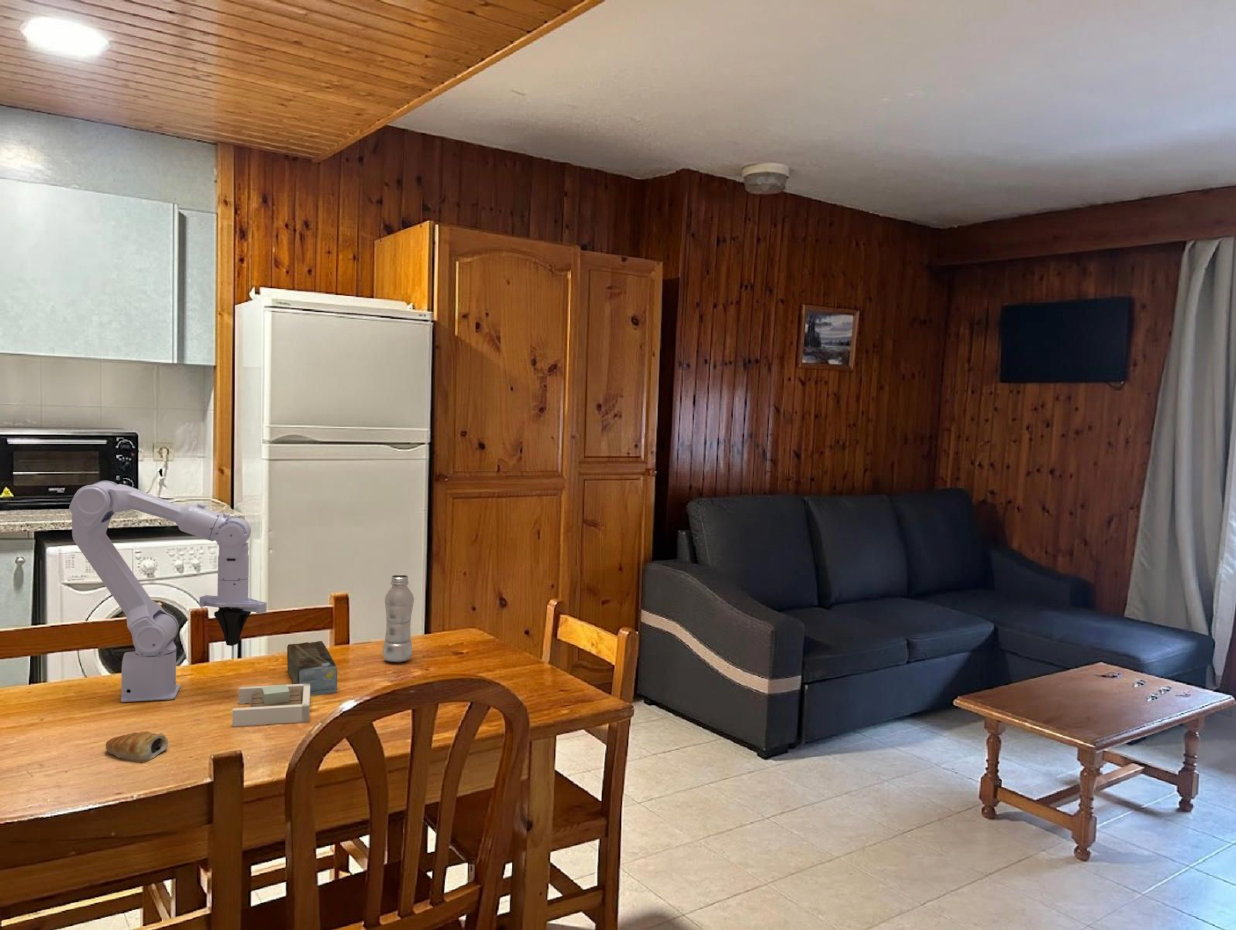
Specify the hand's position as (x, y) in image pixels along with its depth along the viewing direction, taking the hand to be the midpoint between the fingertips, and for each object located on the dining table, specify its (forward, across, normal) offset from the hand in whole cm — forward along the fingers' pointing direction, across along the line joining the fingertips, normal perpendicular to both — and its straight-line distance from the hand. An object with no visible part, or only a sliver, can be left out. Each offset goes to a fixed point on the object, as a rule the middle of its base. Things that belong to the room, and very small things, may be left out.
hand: (232, 644), depth 179 cm
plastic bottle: (+10, +19, +32) cm, 39 cm away
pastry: (+10, +7, -31) cm, 33 cm away
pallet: (+11, +14, -5) cm, 19 cm away
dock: (+10, +14, -6) cm, 18 cm away
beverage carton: (+10, +10, +12) cm, 19 cm away
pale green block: (+8, +14, -5) cm, 17 cm away
